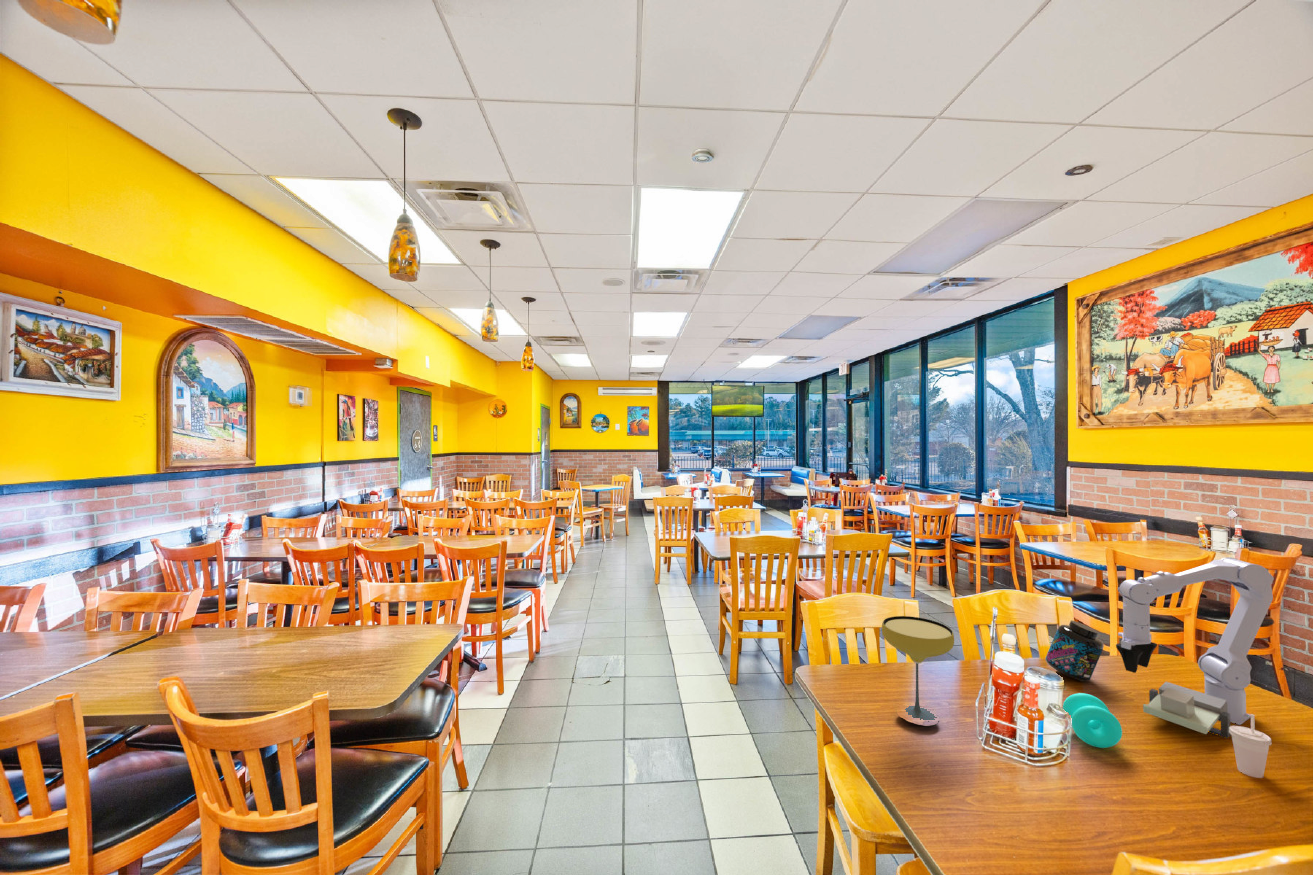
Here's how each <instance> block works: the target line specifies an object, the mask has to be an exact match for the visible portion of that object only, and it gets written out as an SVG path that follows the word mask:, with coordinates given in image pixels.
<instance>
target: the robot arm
mask: <svg viewBox="0 0 1313 875" xmlns="http://www.w3.org/2000/svg"><path fill="white" fill-rule="evenodd" d="M1155 573H1156V574H1152V575H1149V576H1146V577H1142V576H1140V577H1138V578H1137V580H1135V579H1126V580H1124V581H1122V582H1121V583H1120V585H1119V587H1117V590H1118V593H1119V594H1120V595H1121V597H1122V621H1123V622H1122V631H1121V632H1120V631H1119V632H1118V633H1117V634H1118V635H1117V636H1119V637H1122V640H1121V641H1120V643H1117V644H1116V645H1115V648H1116V650H1117V651H1118V652H1119V654H1120V657H1121V660H1122V661H1123V662H1122V663H1123V665H1124V669H1125V671H1128V672H1129V673H1130V672H1131V673H1134V674H1136V673H1137V670H1138V666H1140V667H1144V668H1147V667H1148V666H1149V663H1150V660H1151V657H1152V654H1153V652H1154V650H1155V649H1156V648H1157V647H1158V645H1157V643H1156V642H1152V633H1151V617H1150V616H1151V610H1150V608H1151V605H1150V604H1151V603H1152V602H1154V600H1155V599H1156V598H1159V597H1163V596H1168V595H1171V594H1172V595H1173V594H1176V593H1179V592H1181V591H1182V589H1183V587H1184V586H1188V585H1193V584H1198V583H1203V582H1207V581H1208V582H1209V581H1211V580H1212V581H1213V580H1221V581H1226V582H1228V583H1230V584H1231V585H1232V586H1233V588H1234V589H1235V590H1236V591H1237V593H1238V594H1239V595H1240V596H1239V598H1238V600H1237V602H1236V604H1235V607H1234V609H1233V610H1232V614H1230V615H1231V616H1230V617H1229V620H1228V622H1227V624H1226V627H1225V629H1224V631H1223V632H1222V635H1221V637H1220V639H1219V642H1218V644H1217V645H1213V646H1211V647H1209V648H1208V649H1207V650H1206V652H1205V653H1204V654H1202V655H1201V656H1199V658H1198V661H1197V665H1198V668H1199V669H1200V670H1201V671H1202V672H1203V676H1204V694H1207V695H1211V696H1214V697H1217V698H1220V699H1224V700H1227V709H1228V713H1229V714H1230V723H1233V724H1235V723H1236V724H1235V725H1237V726H1241V725H1242V724H1244V723H1245V722H1246V721H1248V720H1249V719H1251V713H1247V698H1246V697H1247V693H1246V691H1245V688H1247V687H1248V686H1249V685H1250V684H1251V681H1252V679H1251V678H1252V677H1251V670H1252V665H1251V664H1250V661H1249V660H1248V658H1247V656H1248V654H1249V651H1250V649H1251V646H1253V643H1254V641H1255V639H1256V637H1257V634H1258V632H1259V629H1260V627H1261V626H1262V623H1263V621H1264V619H1265V617H1266V615H1267V613H1268V610H1269V608H1270V607H1271V604H1272V603H1273V598H1274V596H1273V589H1272V583H1273V581H1274V580H1275V578H1274V576H1273V575H1272V573H1270V571H1269V570H1268V569H1267V568H1265V567H1264V566H1263V565H1260V564H1255V563H1250V562H1247V561H1243V560H1241V559H1237V558H1234V557H1229V556H1228V557H1222V558H1220V559H1213V560H1211V561H1210V562H1208V563H1205V564H1201V565H1200V566H1196V567H1193V568H1190V569H1187V570H1184V571H1180V572H1178V573H1177V572H1176V573H1175V574H1174V573H1171V572H1170V571H1168V572H1167V571H1162V570H1159V571H1157V572H1155Z"/></svg>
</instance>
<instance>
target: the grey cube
mask: <svg viewBox="0 0 1313 875" xmlns="http://www.w3.org/2000/svg"><path fill="white" fill-rule="evenodd" d="M1160 699H1161V710H1163V711H1166V712H1169V713H1172V714H1175V715H1178V716H1181V717H1184V718H1186V719H1190V718H1191V717H1192V716H1193V715H1194V714H1195V707H1194V696H1193V695H1190V694H1186V693H1183V692H1180V691H1177V690H1174V689H1171V688H1167V689H1166V690H1165V691H1164V692H1163V693H1162V694H1161V695H1160Z"/></svg>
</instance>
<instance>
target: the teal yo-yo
mask: <svg viewBox="0 0 1313 875" xmlns="http://www.w3.org/2000/svg"><path fill="white" fill-rule="evenodd" d="M1063 709H1064V710H1065V711H1066V712H1068V713H1069V715H1071V718H1072V725H1071V727H1072V730H1073V732H1074V734H1076V736H1077V737H1078V738H1079V739H1080V740H1081V741H1083V742H1084V743H1085V744H1088V745H1089V746H1091V747H1094V748H1099V749H1100V748H1101V749H1105V748H1107V749H1108V748H1111V747H1114V746H1115V745H1117V744H1118V743H1119V742H1120V741H1121V739H1122V736H1123V729H1122V725H1121V723H1120V721H1119V720H1118V718H1116V716H1115V715H1114V714H1113V713H1112V712H1110V710H1109V707H1108V706H1107V705H1106V704H1105V703H1104V701H1102V700H1101V699H1100V698H1098V697H1096V696H1095V695H1092V694H1088V693H1084V692H1083V693H1082V692H1078V693H1073V694H1070V695H1069V696H1067V697H1066V699H1065V700H1064V701H1063V703H1062V710H1063Z"/></svg>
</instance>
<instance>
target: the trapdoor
mask: <svg viewBox="0 0 1313 875" xmlns="http://www.w3.org/2000/svg"><path fill="white" fill-rule="evenodd" d="M1167 688H1171V689H1174V690H1177V691H1180V692H1183V693H1186V694H1190V695H1193V696H1194V707H1195V714H1194V715H1193V716H1192V717H1191V718H1190V719H1186V718H1184V717H1181V716H1178V715H1175V714H1172V713H1169V712H1166V711H1163V710H1161V699H1160V695H1161V694H1162V693H1163V692H1164V691H1165V690H1166V689H1167ZM1142 710H1143V713H1146V714H1149V715H1151V716H1153V717H1156V718H1159V719H1162V720H1165V721H1167V722H1171V723H1174V724H1176V725H1179V726H1182V727H1185V728H1188V729H1189V730H1193V731H1194V732H1195V731H1196V732H1198V733H1201V734H1204V735H1207V734H1208V731H1209V730H1210V729H1211V728H1212V727H1213V726H1215V724H1216V723H1217V722H1218V721H1219V722H1221V713H1223V712H1226V713H1228V709H1227V700H1224V699H1220V698H1217V697H1214V696H1211V695H1207V694H1205V692H1201V691H1197V690H1194V689H1191V688H1187V687H1183V686H1181V685H1177V684H1175V683H1172V682H1168V681H1165V682H1164V683H1162V685H1161V686H1160V687H1159V688H1158V695H1157V696H1156V697H1155V698H1154V699H1153V700H1152V701H1151V702H1150V703H1148V704H1146V703H1144V704H1142ZM1213 728H1214V727H1213Z"/></svg>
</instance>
